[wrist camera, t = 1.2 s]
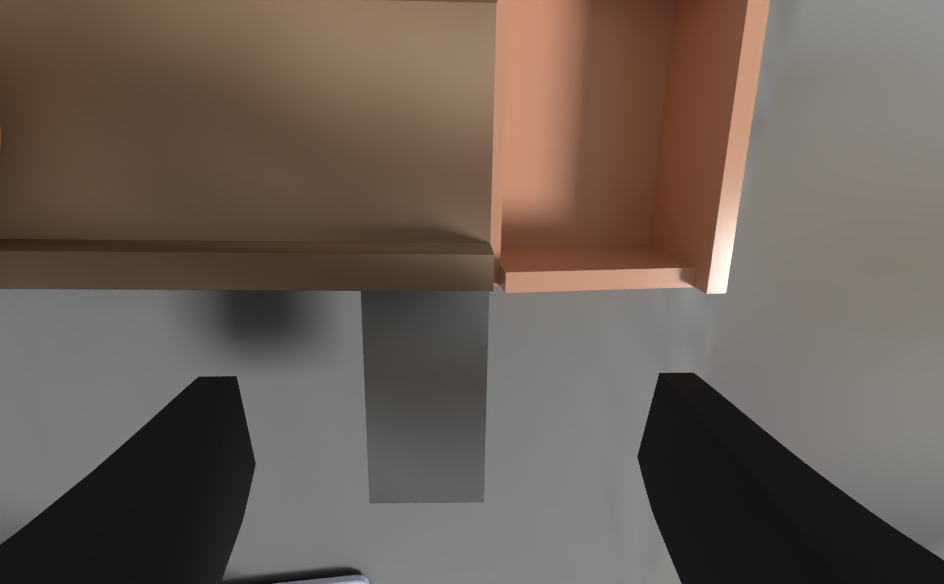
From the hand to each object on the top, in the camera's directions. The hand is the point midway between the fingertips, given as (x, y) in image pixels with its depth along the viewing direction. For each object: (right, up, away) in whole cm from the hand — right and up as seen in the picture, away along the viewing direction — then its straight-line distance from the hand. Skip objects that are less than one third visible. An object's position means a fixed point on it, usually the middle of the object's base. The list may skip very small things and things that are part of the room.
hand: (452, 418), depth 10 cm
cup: (+4, +8, +9) cm, 12 cm away
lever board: (-6, +3, +4) cm, 8 cm away
